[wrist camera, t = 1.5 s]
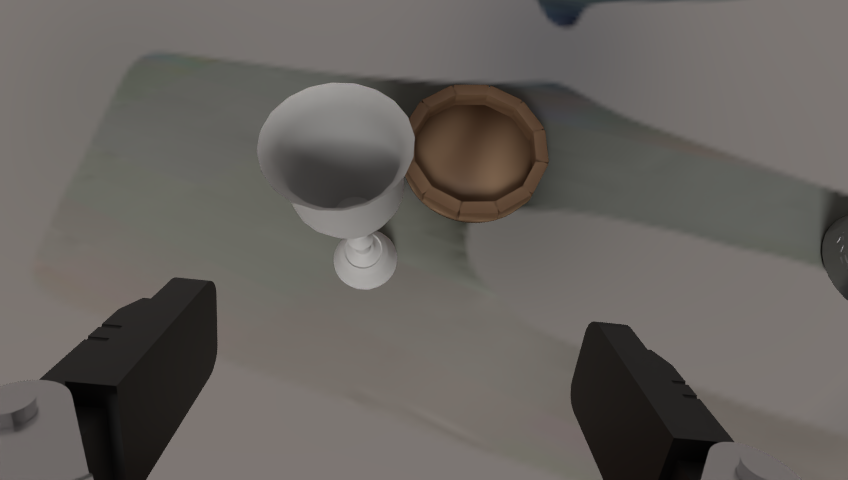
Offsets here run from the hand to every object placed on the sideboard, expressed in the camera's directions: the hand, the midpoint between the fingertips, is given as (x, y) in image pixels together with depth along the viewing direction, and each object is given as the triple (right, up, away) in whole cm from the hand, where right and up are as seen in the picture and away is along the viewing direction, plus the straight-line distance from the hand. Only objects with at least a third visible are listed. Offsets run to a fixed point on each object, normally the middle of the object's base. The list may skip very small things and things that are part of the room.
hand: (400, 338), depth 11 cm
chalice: (-4, +1, +30) cm, 30 cm away
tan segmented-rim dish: (+5, +9, +33) cm, 35 cm away
